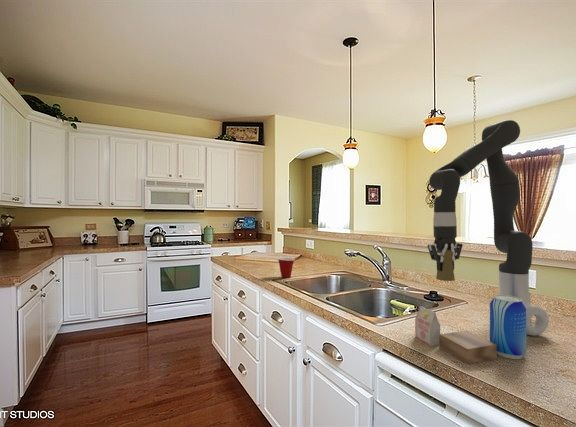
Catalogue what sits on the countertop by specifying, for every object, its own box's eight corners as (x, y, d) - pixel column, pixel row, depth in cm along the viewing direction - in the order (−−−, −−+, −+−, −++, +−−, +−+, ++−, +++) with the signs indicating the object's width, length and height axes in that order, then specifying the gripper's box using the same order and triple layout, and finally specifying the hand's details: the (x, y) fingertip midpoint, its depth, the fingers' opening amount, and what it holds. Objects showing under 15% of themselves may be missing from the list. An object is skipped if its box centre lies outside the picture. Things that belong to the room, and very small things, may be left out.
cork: (457, 281, 106) (456, 250, 106) (438, 280, 107) (438, 250, 107) (451, 277, 112) (451, 248, 112) (434, 277, 113) (433, 247, 113)
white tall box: (424, 335, 98) (424, 305, 98) (440, 344, 92) (440, 312, 92) (415, 337, 97) (415, 306, 97) (430, 345, 91) (430, 313, 91)
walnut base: (466, 343, 92) (466, 330, 92) (496, 358, 82) (496, 344, 82) (439, 347, 90) (439, 334, 90) (467, 363, 80) (467, 349, 80)
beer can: (514, 363, 80) (514, 303, 80) (483, 350, 88) (483, 295, 88) (532, 357, 84) (533, 299, 83) (501, 344, 91) (501, 292, 91)
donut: (523, 338, 96) (523, 307, 96) (514, 333, 99) (514, 303, 99) (552, 337, 97) (552, 306, 97) (542, 332, 100) (542, 302, 100)
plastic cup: (298, 277, 185) (298, 258, 185) (283, 279, 180) (283, 260, 180) (289, 274, 194) (289, 256, 194) (274, 276, 189) (274, 257, 189)
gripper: (452, 223, 115) (453, 268, 115) (421, 224, 111) (421, 271, 111) (469, 224, 107) (469, 272, 108) (436, 225, 104) (436, 275, 104)
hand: (445, 271), depth 109 cm, fingers closed on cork, 3 cm apart
